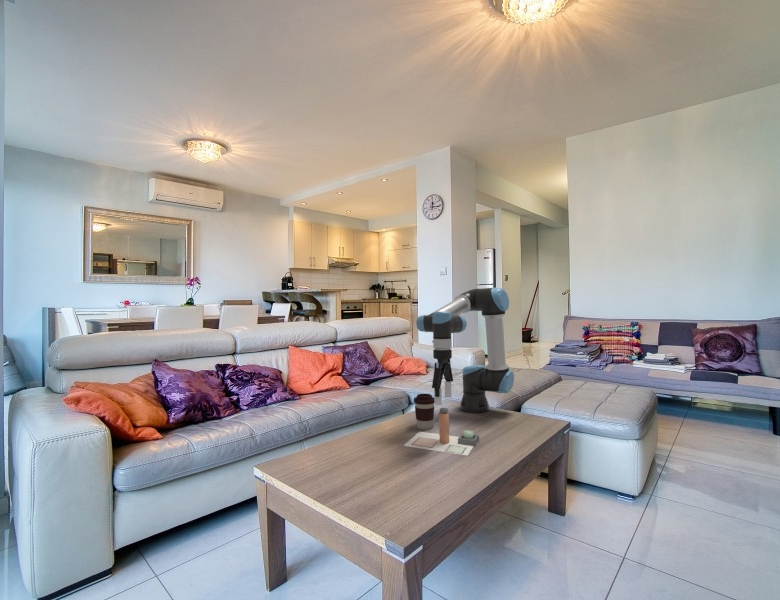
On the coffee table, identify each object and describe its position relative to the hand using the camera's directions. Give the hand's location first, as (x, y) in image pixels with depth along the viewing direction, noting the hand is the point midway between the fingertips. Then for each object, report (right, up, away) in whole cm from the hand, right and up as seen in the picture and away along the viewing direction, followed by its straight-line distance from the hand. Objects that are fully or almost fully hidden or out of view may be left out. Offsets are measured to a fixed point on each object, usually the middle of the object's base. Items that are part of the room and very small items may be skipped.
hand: (443, 400), depth 155 cm
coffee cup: (-6, -18, +20) cm, 27 cm away
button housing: (+10, -17, 0) cm, 20 cm away
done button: (+10, -17, 0) cm, 20 cm away
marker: (0, -17, 0) cm, 17 cm away
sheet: (-1, -17, -1) cm, 17 cm away
